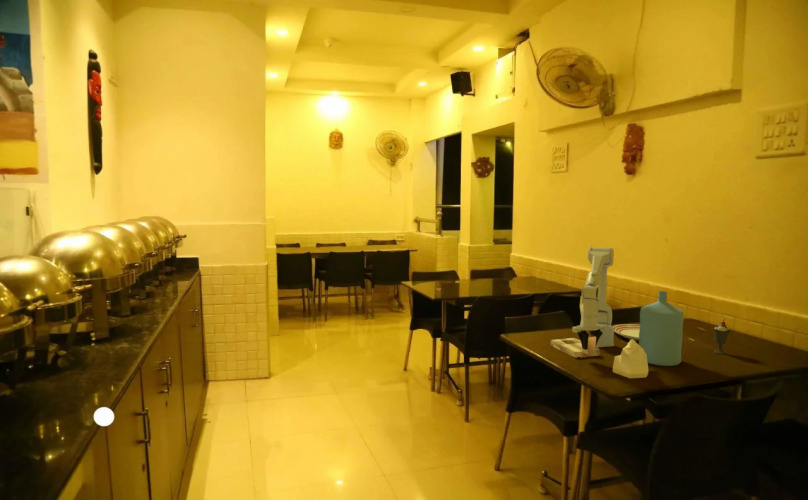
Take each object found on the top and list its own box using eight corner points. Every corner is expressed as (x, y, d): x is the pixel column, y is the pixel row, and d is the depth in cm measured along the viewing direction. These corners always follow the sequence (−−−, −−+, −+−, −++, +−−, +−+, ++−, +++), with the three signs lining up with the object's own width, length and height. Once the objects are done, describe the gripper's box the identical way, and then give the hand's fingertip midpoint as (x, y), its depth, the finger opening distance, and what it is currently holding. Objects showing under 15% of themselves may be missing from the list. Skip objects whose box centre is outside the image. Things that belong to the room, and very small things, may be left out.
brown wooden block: (589, 351, 209) (590, 334, 208) (595, 353, 206) (595, 336, 205) (582, 351, 208) (582, 335, 207) (587, 354, 205) (588, 337, 204)
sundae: (723, 356, 213) (725, 320, 212) (707, 351, 219) (709, 317, 218) (732, 353, 216) (735, 318, 215) (717, 349, 222) (719, 315, 221)
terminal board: (574, 343, 232) (574, 329, 231) (599, 355, 214) (600, 340, 214) (550, 345, 228) (550, 331, 228) (574, 358, 211) (575, 342, 210)
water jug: (679, 369, 197) (683, 297, 194) (635, 362, 206) (638, 293, 203) (682, 358, 211) (686, 290, 207) (640, 352, 219) (643, 286, 216)
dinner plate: (633, 326, 261) (633, 320, 260) (688, 339, 238) (688, 332, 237) (599, 335, 246) (599, 328, 245) (654, 349, 223) (654, 342, 222)
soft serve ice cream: (660, 381, 189) (664, 348, 184) (619, 385, 189) (621, 351, 184) (645, 362, 201) (648, 330, 196) (606, 365, 201) (608, 333, 196)
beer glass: (594, 327, 258) (595, 298, 256) (580, 327, 259) (581, 297, 258) (592, 324, 265) (593, 295, 263) (578, 323, 266) (579, 294, 264)
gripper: (580, 318, 199) (579, 353, 201) (612, 316, 203) (610, 349, 205) (569, 314, 206) (568, 347, 208) (600, 312, 210) (599, 344, 212)
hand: (588, 348), depth 207 cm, fingers closed on brown wooden block, 3 cm apart
